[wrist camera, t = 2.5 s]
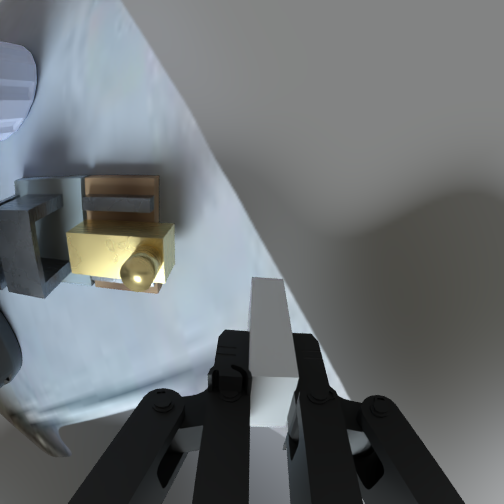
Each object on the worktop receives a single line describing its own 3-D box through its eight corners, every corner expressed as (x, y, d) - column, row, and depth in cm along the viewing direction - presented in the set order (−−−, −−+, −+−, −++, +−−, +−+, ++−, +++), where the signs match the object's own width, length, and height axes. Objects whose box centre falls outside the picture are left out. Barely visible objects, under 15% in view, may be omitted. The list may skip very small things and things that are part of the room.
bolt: (89, 256, 22) (56, 288, 17) (86, 219, 21) (48, 244, 16) (174, 263, 22) (156, 301, 17) (174, 223, 21) (152, 253, 16)
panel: (35, 271, 24) (28, 277, 23) (22, 178, 21) (14, 180, 20) (161, 286, 25) (158, 293, 24) (159, 175, 21) (154, 178, 20)
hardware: (26, 265, 23) (-3, 289, 18) (15, 194, 20) (-20, 210, 16) (157, 280, 23) (139, 313, 19) (154, 195, 21) (131, 213, 16)
